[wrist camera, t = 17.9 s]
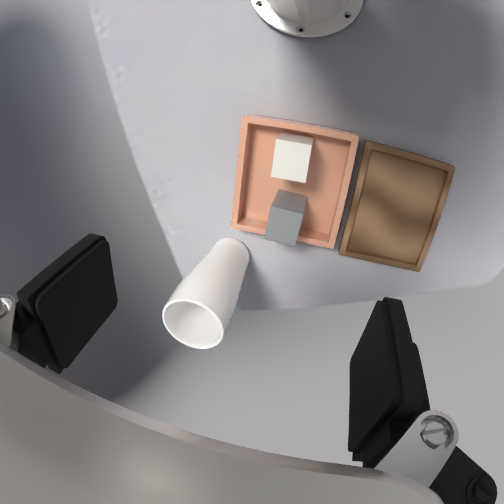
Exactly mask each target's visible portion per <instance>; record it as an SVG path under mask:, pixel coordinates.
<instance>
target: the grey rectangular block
mask: <svg viewBox="0 0 504 504" xmlns="http://www.w3.org/2000/svg"><path fill="white" fill-rule="evenodd" d="M306 197H307V196H305V195H301V194H297V193H293V192H289V191H285V190H281V189H278V191H277V193H276V196H275V198H274V200H273V202H272V204H271V207H270V211H269V216H268V221H267V225H266V230H265V235H264V239H266V240H270V241H274V242H278V243H281V244H285V245H289V246H293V247H295V244H296V241H297V237H298V233H299V230H300V226H301V222H302V218H303V214H304V209H305V203H306Z"/></svg>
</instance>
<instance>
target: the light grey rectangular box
mask: <svg viewBox="0 0 504 504" xmlns="http://www.w3.org/2000/svg"><path fill="white" fill-rule="evenodd" d="M313 138H314V137H310V136H305V135H299V134H294V133H288V132H283V133H282V134H281V135H280V136H279V137H278V138H277V139H276V143H275V150H274V158H273V165H272V172H271V177H275V178H281V179H286V180H292V181H297V182H302V183H306V178H307V173H308V167H309V161H310V155H311V150H312V144H313Z"/></svg>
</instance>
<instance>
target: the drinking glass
mask: <svg viewBox="0 0 504 504" xmlns="http://www.w3.org/2000/svg"><path fill="white" fill-rule="evenodd" d="M249 259H250V256H249V252H248V249H247V248H246V246H245V245H244V244H243V243H242V242H240V241H239V240H237V239H234V238H223V239H220V240H218V241H217V242H216V243H215V244H214V245H213V247H212V248H211V249H210V251H209V252H208V253H207V254H206V255H205V256H204V257H203V258H202V259H201V261H200V262H199V263H198V264H197V265H196V266H195V267H194V268H193V269H192V270H191V271H190V273H189V274H188V275H187V276H186V277H185V278H184V279H183V280H182V282H181V283H180V284H179V285H178V287H177V288H176V289H175V291H174V292H173V294H172V295H171V297H170V299H169V300H168V302H167V304H166V305H165V307H164V309H163V313H162V317H163V322H164V325H165V327H166V328H167V330H168V331H169V333H170V334H171V335H172V336H173V337H174V338H176V339H177V340H178V341H180V342H182V343H183V344H185V345H187V346H190V347H193V348H198V349H208V348H212V347H214V346H216V345H218V344H219V343H220V342H221V341H222V339H223V337H224V335H225V333H226V331H227V329H228V327H229V324H230V322H231V320H232V317H233V314H234V311H235V308H236V305H237V301H238V297H239V293H240V290H241V286H242V282H243V279H244V275H245V272H246V269H247V266H248V264H249Z"/></svg>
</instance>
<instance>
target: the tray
mask: <svg viewBox="0 0 504 504" xmlns="http://www.w3.org/2000/svg"><path fill="white" fill-rule="evenodd" d="M454 170H455V167H453V166H452V165H449V164H446V163H443V162H440V161H437V160H434V159H431V158H428V157H425V156H422V155H419V154H415V153H412V152H409V151H405V150H402V149H398V148H395V147H391V146H387V145H384V144H380V143H376V142H372V141H368V140H365V141H364V146H363V151H362V155H361V160H360V165H359V169H358V174H357V178H356V183H355V187H354V191H353V195H352V200H351V204H350V208H349V212H348V216H347V220H346V224H345V227H344V231H343V235H342V239H341V242H340V246H339V250H338V251H339V255H344V256H348V257H353V258H358V259H362V260H367V261H372V262H376V263H381V264H386V265H390V266H395V267H399V268H404V269H408V270H413V271H417V272H419V271H420V269H421V267H422V264H423V262H424V259H425V257H426V254H427V252H428V249H429V246H430V244H431V241H432V239H433V236H434V233H435V230H436V227H437V225H438V222H439V219H440V216H441V213H442V210H443V207H444V204H445V201H446V197H447V194H448V191H449V188H450V184H451V181H452V177H453V174H454Z"/></svg>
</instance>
